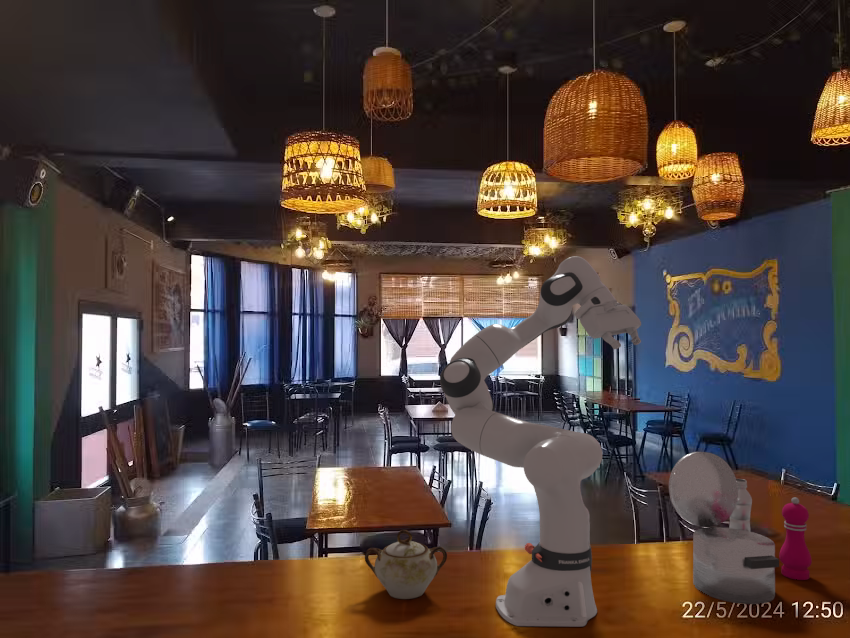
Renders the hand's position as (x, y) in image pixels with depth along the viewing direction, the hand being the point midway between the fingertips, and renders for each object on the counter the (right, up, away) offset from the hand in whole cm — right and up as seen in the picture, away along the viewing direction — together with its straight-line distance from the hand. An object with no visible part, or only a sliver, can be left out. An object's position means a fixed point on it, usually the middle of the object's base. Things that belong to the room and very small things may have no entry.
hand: (628, 345), depth 176 cm
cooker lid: (+19, -37, -5) cm, 42 cm away
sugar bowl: (-59, -58, -19) cm, 85 cm away
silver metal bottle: (+35, -59, +10) cm, 69 cm away
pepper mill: (+40, -59, -8) cm, 72 cm away
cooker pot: (+21, -58, -16) cm, 64 cm away
